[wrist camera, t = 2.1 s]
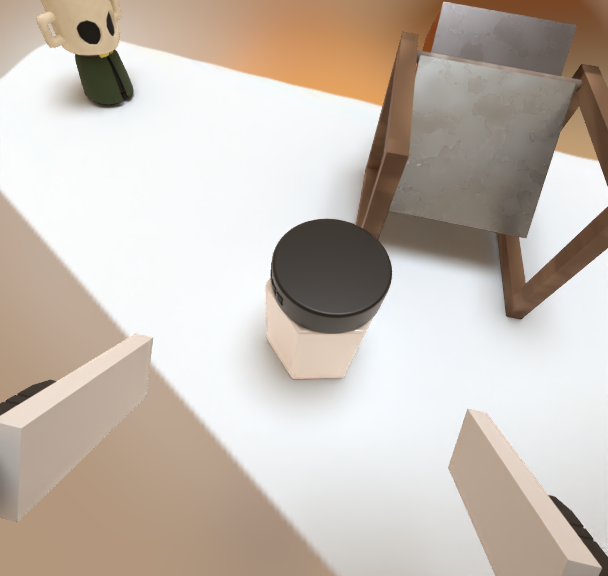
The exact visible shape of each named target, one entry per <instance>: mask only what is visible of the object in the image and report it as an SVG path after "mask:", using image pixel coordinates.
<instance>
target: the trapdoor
mask: <svg viewBox="0 0 608 576" xmlns="http://www.w3.org/2000/svg"><path fill="white" fill-rule="evenodd" d="M576 27H577V25H573V24H567V23H562V22H556V21H550V20H545V19H539V18H533V17H528V16H522V15H516V14H510V13H504V12H498V11H493V10H487V9H482V8H476V7H470V6H465V5H459V4H453V3H447V2H443V4H442V6H441V8H440V10H439V12H438V14H437V16H436V18H435V20H434V22H433V24H432V26H431V28H430V30H429V32H428V34H427V36H426V38H425V42H424V46H423V51H424V52H430V53H435V54H441V55H446V56H452V57H457V58H463V59H468V60H474V61H479V62H485V63H490V64H496V65H501V66H507V67H512V68H518V69H523V70H529V71H534V72H540V73H545V74H551V75H556V76H561V75H562V71H563V68H564V65H565V62H566V59H567V55H568V52H569V49H570V46H571V43H572V39H573V36H574V33H575V30H576ZM575 85H576V83H572V82H566V81H561V80H555V79H550V78H544V77H539V76H533V75H528V74H522V73H517V72H511V71H506V70H500V69H495V68H489V67H484V66H478V65H473V64H467V63H462V62H456V61H451V60H445V59H440V58H434V57H429V56H423V55H421V56H420V59H419V62H418V63H417V67H416V72H415V85H414V98H413V111H412V123H411V136H410V149H409V157H408V160H407V163H406V165H405V168H404V171H403V173H402V176H401V179H400V181H399V184H398V187H397V189H396V192H395V195H394V197H393V200H392V203H391V205H390V208H389V211H393V212H398V213H403V214H408V215H413V216H418V217H423V218H428V219H433V220H438V221H443V222H448V223H453V224H458V225H463V226H468V227H472V228H477V229H482V230H487V231H492V232H497V233H502V234H507V235H512V236H517V237H522V238H526V237H527V234H528V231H529V228H530V225H531V222H532V219H533V216H534V212H535V209H536V206H537V203H538V200H539V197H540V194H541V191H542V188H543V184H544V181H545V178H546V175H547V172H548V169H549V166H550V163H551V160H552V156H553V153H554V150H555V147H556V144H557V141H558V138H559V135H560V132H561V128H562V125H563V122H564V119H565V116H566V113H567V110H568V107H569V104H570V100H571V97H572V94H573V91H574V88H575Z"/></svg>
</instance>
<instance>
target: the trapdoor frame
mask: <svg viewBox="0 0 608 576" xmlns="http://www.w3.org/2000/svg"><path fill="white" fill-rule="evenodd" d="M417 47H418V34H413V33H407V32H402V35H401V39H400V43H399V47H398V51H397V54H396V58H395V62H394V66H393V69H392V73H391V77H390V80H389V84H388V88H387V92H386V96H385V99H384V103H383V107H382V110H381V114H380V118H379V122H378V125H377V129H376V133H375V137H374V140H373V144H372V148H371V152H370V155H369V159H368V163H367V166H366V171H365V177H364V182H363V188H362V194H361V200H360V206H359V211H358V217H357V223H356V225H357V226H359V227H361V228H363V229H365V230H366V231H368V232H369V233H371V234H372V235H373V236H374V237H375V238H376V239H377V240H378V237H379V235H380V232H381V229H382V227H383V224H384V221H385V219H386V216H387V213H388V211H389V208H390V205H391V203H392V200H393V197H394V195H395V192H396V189H397V187H398V184H399V181H400V179H401V176H402V173H403V171H404V168H405V165H406V163H407V160H408V157H409V149H410V136H411V123H412V111H413V98H414V85H415V72H416V63H418V62H419V59H420V56H421V55H423V56H429V57H434V58H440V59H445V60H451V61H456V62H462V63H467V64H473V65H478V66H484V67H489V68H495V69H500V70H506V71H511V72H517V73H522V74H528V75H533V76H539V77H544V78H550V79H555V80H561V81H566V82H572V83H576V85H575V88H574V91H573V94H572V97H571V100H570V104H569V107H568V110H567V113H566V116H565V119H564V122H563V125H562V128H561V130H562V129H563V127H564V126H565V124H566V123H567V122H568V120H569V119H570V118H571V117H572V115H573V114H574V112H575V111H576V110H577V108H578V107H579V106H580V109H581V112H582V115H583V117H584V120H585V123H586V126H587V129H588V132H589V134H590V137H591V140H592V143H593V146H594V149H595V151H596V154H597V157H598V160H599V163H600V166H601V169H602V171H603V174H604V177H605V180H606V183H607V186H608V88H607V86H606V83H605V81H604V79H603V77H602V74H601V72H600V70H599V68H598V67H596V66H591V65H585V64H581V65H580V67H579V69H578V70H577V71H576V73H575V74H574V76H573V77H572V78H567V77H562V76H556V75H551V74H545V73H540V72H534V71H529V70H523V69H518V68H512V67H507V66H501V65H496V64H490V63H485V62H479V61H474V60H468V59H463V58H457V57H452V56H446V55H441V54H435V53H430V52H424V51H419V50H417ZM382 158H383V159H382ZM381 161H382V162H381ZM497 234H498V243H499V253H500V262H501V271H502V281H503V290H504V300H505V309H506V316H508V317H513V318H517V319H522V318H523V317H524V316H526V315H527V314H528V313H529V312H531V311H532V310H533V309H534V308H535V307H537V306H538V305H539V304H540V303H541V302H543V301H544V300H545V299H546V298H548V297H549V296H550V295H551V294H552V293H554V292H555V291H556V290H557V289H559V288H560V287H561V286H562V285H563V284H565V283H566V282H567V281H568V280H569V279H571V278H572V277H573V276H574V275H576V274H577V273H578V272H579V271H580V270H582V269H583V268H584V267H585V266H587V265H588V264H589V263H590V262H591V261H593V260H594V259H595V258H596V257H597V256H599V255H600V254H601V253H602V252H604V251H605V250H606V249H607V248H608V207H607V208H606V209H605V210H603V211H602V212H601V213H600V214H599V215H598V216H597V217H596V218H595V219H594V220H593V221H592V222H591V223H590V224H589V225H588V226H587V227H585V228H584V229H583V230H582V231H581V232H580V233H579V234H578V235H577V236H576V237H575V238H574V239H573V240H572V241H571V242H570V243H569V244H568V245H566V246H565V247H564V248H563V249H562V250H561V251H560V252H559V253H558V254H557V255H556V256H555V257H554V258H553V259H552V260H551V261H550V262H548V263H547V264H546V265H545V266H544V267H543V268H542V269H541V270H540V271H539V272H538V273H537V274H536V275H535V276H534V277H533V278H532V279H530V280H529V281H528V282H527V283H525V276H524V269H523V263H522V256H521V249H520V242H519V237H517V236H512V235H507V234H502V233H497Z"/></svg>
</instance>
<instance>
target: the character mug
mask: <svg viewBox="0 0 608 576" xmlns="http://www.w3.org/2000/svg"><path fill="white" fill-rule="evenodd" d="M41 2H42V4H43V6H44V9H45V11H46V13H44V14H41V15H39V16H38V17H37V18H36V20H37V24H38V25H39V28H40V30H41V32H42V34H43V37H44V39H45V41H46V43H47V44H48V46H49V47H50V48H56V47H58V46H60V45H62V47H63V48H64V49H66V50H67V51H69V52H71V53H74V54H75V60H76V64H77V68H78V71H79V75H80V79H81V82H82V86H83V89H84V92H85V95H86V96H87V97H89V98H90V99H91V100H93V101H95V102H98V103H100V104H115V103H119V102H122V101H123V98H122V95H121V93H122V92H123V91H124V90H125V91H126V93H127V96H128V98H129V97H130V96H131V95H132V93H133V86H132V84H131V81H130V79H129V76H128V74H127V71H126V69H125V67H124V65H123V63H122V61H121V59H120V57H119V54H118V52H117V51H116V50H115V49H116V47H117V46H118V43H119V40H120V34H119V27H118V24H117V20H119V19H120V18H121V17H122V13H121V10H120V6H119V3H118V0H110V1H109V0H41ZM49 23H51V25H52V27H53V29H54V31H55V34H56V36H55V37H53V36H52V33H51V31H50V29H49V27H48V24H49Z"/></svg>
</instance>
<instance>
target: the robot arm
mask: <svg viewBox="0 0 608 576" xmlns="http://www.w3.org/2000/svg"><path fill="white" fill-rule="evenodd" d="M152 343H153V337H148V336H144V335H139V334H134V335H132V336H131V337H129V338H127V339H126V340H124V341H122V342H121V343H119V344H118V345H116V346H114V347H113V348H111V349H109V350H108V351H106V352H104V353H103V354H101V355H99V356H98V357H96V358H94V359H93V360H91V361H90V362H88V363H86V364H85V365H83V366H81V367H80V368H78V369H77V370H75V371H73V372H72V373H70V374H68V375H67V376H65V377H63V378H62V379H60V380H58V381H53V380H48V381H45V382H41V383H38V384H35V385H32V386H30V387H28V388H27V389H25V390H23V391H21V392H20V393H18V395H14V396H13V397H11V398H9V399H7V400H6V402H2V403H1V404H0V518H2V519H6V520H11V521H14V522H18V521H19V520H20V519H21V518H22V517H23V516H24V515H25V514H26V513H27V512H28V511H30V510H31V509H32V508H33V507H34V506H35V505H36V504H37V503H38V502H39V501H40V500H41V499H42V498H43V497H44V496H45V495H46V494H47V493H48V492H49V491H50V490H51V489H52V488H53V487H54V486H55V485H56V484H57V483H58V482H59V481H60V480H61V479H62V478H63V477H64V476H65V475H66V474H67V473H68V472H69V471H70V470H72V468H73V467H74V466H76V465H77V464H78V463H79V462H80V461H81V460H82V459H83V458H84V457H85V456H86V455H87V454H88V453H89V452H90V451H91V450H92V449H93V448H94V447H95V446H96V445H97V444H98V443H99V442H100V441H101V440H102V439H103V438H104V437H105V436H106V435H107V434H108V433H110V431H112V430H113V429H114V428H115V427H116V426H117V425H118V424H119V423H120V422H121V421H122V420H123V419H124V418H125V417H126V416H127V415H128V414H129V413H130V412H131V411H132V410H133V409H134V408H135V407H136V406H137V405H138V404H139V403H140V402H141V401H142V400H143V399H144V398H145V397H146V392H147V384H148V375H149V368H150V359H151V351H152ZM448 468H449V470H450V473H451V475H452V477H453V480H454V482H455V484H456V486H457V489H458V491H459V493H460V496H461V498H462V500H463V502H464V505H465V507H466V509H467V512H468V514H469V516H470V518H471V521H472V523H473V525H474V528H475V530H476V532H477V534H478V537H479V539H480V541H481V544H482V546H483V548H484V550H485V553H486V555H487V557H488V560H489V562H490V564H491V566H492V569H493V571H494V573H495V576H608V557H607V555H606V554H605V553H604V552H603V550H602V549H601V548H600V546H599V545H598V544H597V543H596V542H595V541H593V538H592V536H591V535H590V534H589V532H588V531H587V530H586V529H584V528H583V525H582V524H581V522H580V521H579V520H578V518H577V517H576V516H575V515H574V513H573V512H572V511H571V510H570V509H569V508H568V507H566V506H565V505H564V504H563V503H562V502H561V501H559V500H558V499H557V498H556V497H554V496H550V495H547V493H546V492H545V491H544V489H543V488H542V487H541V485H540V484H539V483H538V481H537V480H536V479H535V477H534V476H533V475H532V473H531V472H530V471H529V469H528V468H527V467H526V465H525V464H524V463H523V461H522V460H521V459H520V457H519V456H518V455H517V453H516V452H515V451H514V449H513V448H512V446H511V445H510V444H509V442H508V441H507V440H506V438H505V437H504V436H503V434H502V433H501V432H500V430H499V429H498V428H497V426H496V425H495V424H494V422H493V421H492V420H491V418H490V417H489V416H488V414H487V413H484V412H479V411H475V410H470V409H467V412H466V415H465V418H464V421H463V424H462V428H461V431H460V434H459V437H458V440H457V443H456V446H455V449H454V452H453V455H452V458H451V461H450V464H449V467H448Z"/></svg>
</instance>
